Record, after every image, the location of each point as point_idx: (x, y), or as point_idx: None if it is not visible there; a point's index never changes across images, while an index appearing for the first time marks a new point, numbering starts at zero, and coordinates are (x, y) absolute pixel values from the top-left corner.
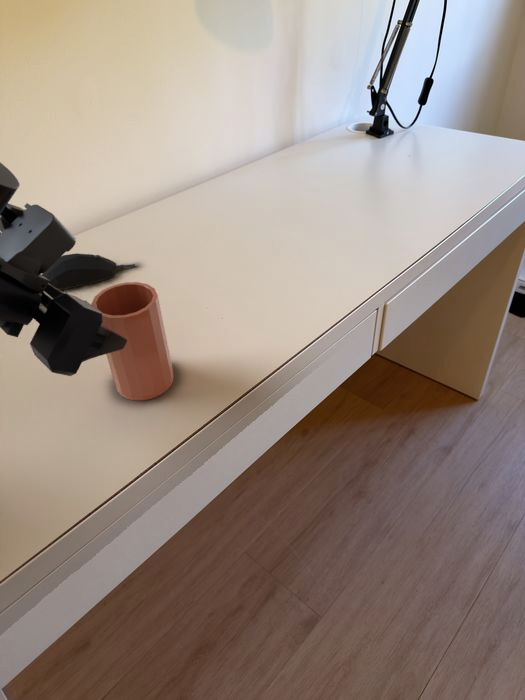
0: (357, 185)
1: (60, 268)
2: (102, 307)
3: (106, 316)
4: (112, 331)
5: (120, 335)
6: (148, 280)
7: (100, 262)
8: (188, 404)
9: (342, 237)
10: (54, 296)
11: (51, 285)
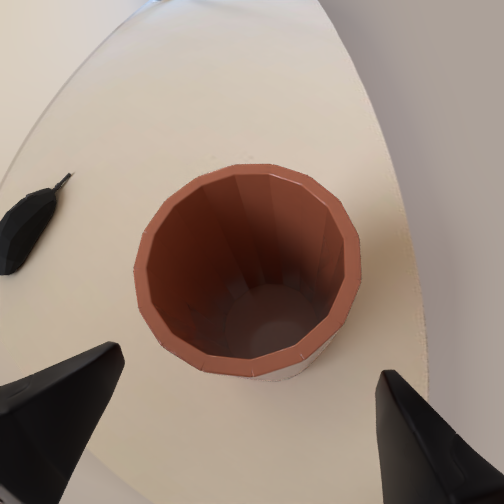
0: (208, 10)
1: (3, 244)
2: (169, 311)
3: (281, 365)
4: (432, 418)
5: (389, 382)
6: (99, 177)
7: (35, 200)
8: (376, 316)
9: (253, 34)
10: (58, 406)
11: (23, 388)
